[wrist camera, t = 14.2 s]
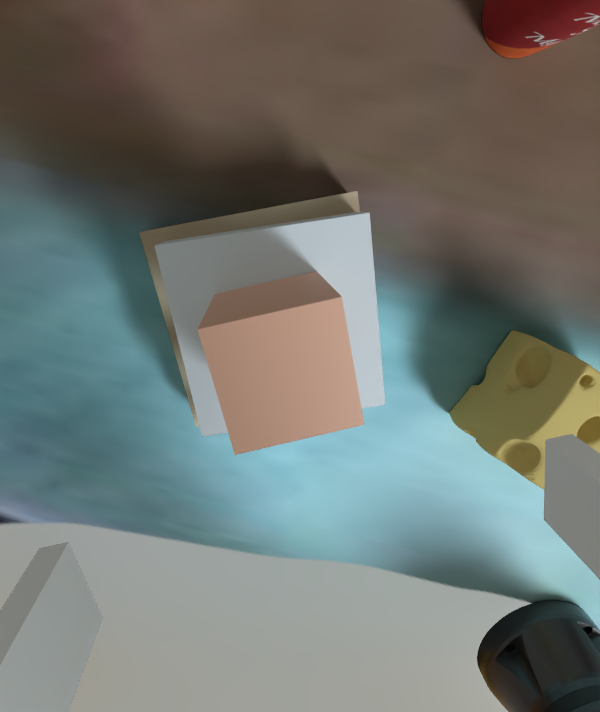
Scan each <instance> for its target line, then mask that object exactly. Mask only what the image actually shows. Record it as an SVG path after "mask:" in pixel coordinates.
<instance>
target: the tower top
mask: <svg viewBox="0 0 600 712" xmlns="http://www.w3.org/2000/svg"><path fill="white" fill-rule="evenodd" d="M155 250H156V254H157V258H158V262H159V266H160V270H161V274H162V278H163V282H164V286H165V290H166V294H167V298H168V302H169V306H170V310H171V314H172V318H173V322H174V326H175V330H176V334H177V338H178V342H179V346H180V350H181V354H182V358H183V362H184V366H185V370H186V374H187V378H188V382H189V386H190V390H191V394H192V398H193V402H194V406H195V410H196V414H197V418H198V422H199V426H200V430H201V434H202V437H204V436H209V435H215V434H221V433H226V432H228V430H227V426H226V423H225V420H224V416H223V413H222V410H221V406H220V403H219V400H218V397H217V393H216V390H215V387H214V383H213V380H212V377H211V373H210V370H209V367H208V363H207V360H206V357H205V353H204V350H203V347H202V343H201V340H200V337H199V333H198V330H197V329H198V327H199V325H200V323H201V321H202V319H203V317H204V315H205V313H206V311H207V309H208V307H209V305H210V303H211V300H212V298H213V296H214V294H217V293H221V292H226V291H230V290H235V289H239V288H244V287H248V286H252V285H257V284H261V283H266V282H270V281H275V280H279V279H284V278H288V277H292V276H297V275H301V274H306V273H310V272H315V271H317V272H318V273H319V274H320V275H321V276H322V277H323V278H324V279H325V280H326V281H327V282H328V283H329V284H330V285H331V286H332V287H333V288H334V289H335V290H336V291H337V292H338V293H339V294H340V295H341V296H342V300H343V306H344V312H345V317H346V323H347V329H348V334H349V340H350V346H351V351H352V357H353V363H354V368H355V374H356V380H357V385H358V391H359V397H360V403H361V408H368V407H374V406H379V405H385V396H384V384H383V372H382V360H381V347H380V335H379V323H378V311H377V299H376V287H375V274H374V262H373V250H372V238H371V226H370V213H365V212H353V213H346V214H340V215H333V216H327V217H320V218H313V219H307V220H300V221H294V222H287V223H281V224H274V225H268V226H261V227H255V228H248V229H242V230H235V231H228V232H222V233H215V234H209V235H202V236H196V237H189V238H183V239H176V240H170V241H165V242H162V243H160V244H157V245H155Z"/></svg>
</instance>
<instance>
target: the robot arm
mask: <svg viewBox="0 0 600 712" xmlns="http://www.w3.org/2000/svg"><path fill="white" fill-rule="evenodd" d="M544 520H545V521H546V522H547V523H548V524H549V526H550V527H551V528H552V529H553V530H554V531H555V532H556V533H557V534H558V535H559V536H560V537H561V538H562V539H563V541H564V542H565V543H566V544H567V545H568V546H569V547H570V548H571V549H572V550H573V551H574V552H575V553H576V555H577V556H578V557H579V558H580V559H581V560H582V561H583V562H584V563H585V564H586V565H587V566H588V567H589V568H590V570H591V571H592V572H593V573H594V574H595V575H596V576H597V577H598V578H599V579H600V453H598V452H597V451H596V450H594V449H593V448H591V447H590V446H588V445H587V444H586V443H584V442H583V441H581V440H580V439H579V438H577V437H576V436H574V435H573V434H569V435H564V436H560V437H555V438H550V439H546V440H545V488H544ZM102 619H103V617H102V615H101V612H100V610H99V608H98V606H97V604H96V601H95V599H94V597H93V595H92V593H91V591H90V588H89V586H88V584H87V582H86V580H85V577H84V575H83V573H82V571H81V569H80V566H79V564H78V562H77V560H76V558H75V555H74V553H73V551H72V549H71V547H70V544H69V543H63V544H58V545H53V546H49V547H44V548H40V549H39V550H38V552H37V553H36V555H35V556H34V558H33V559H32V561H31V563H30V564H29V566H28V568H27V569H26V570H25V572H24V574H23V575H22V577H21V579H20V580H19V582H18V583H17V585H16V586H15V588H14V590H13V591H12V593H11V594H10V596H9V597H8V599H7V601H6V602H5V604H4V605H3V607H2V609H1V610H0V712H68V710H69V708H70V705H71V703H72V700H73V697H74V695H75V692H76V689H77V686H78V684H79V681H80V678H81V676H82V673H83V670H84V668H85V665H86V662H87V659H88V657H89V654H90V651H91V648H92V646H93V643H94V640H95V638H96V635H97V632H98V630H99V627H100V624H101V621H102ZM477 661H478V667H479V669H480V672H481V674H482V675H483V678H484V680H485V682H486V684H487V686H488V687H489V689H490V691H491V692H492V693H493V694H494V696H495V697H496V698H497V699H498V700H499V701H500V703H501V704H502V705H503V706H504V707H505V708H506V709H507V710H508V711H509V712H600V630H599V629H598V627H597V626H596V625H595V623H594V622H593V621H592V620H591V619H590V617H589V616H588V615H587V614H586V613H585V612H584V611H583V610H582V609H581V608H579V607H578V606H576V605H574V604H571V603H568V602H563V601H543V602H537V603H533V604H529V605H527V606H524V607H521V608H519V609H517V610H515V611H513V612H511V613H509V614H508V615H506V616H505V617H503V618H502V619H501V620H499V621H498V622H497V623H496V624H495V625H494V626H493V627H492V628H491V629H490V630H489V631H488V632H487V634H486V635H485V637H484V638H483V640H482V642H481V644H480V647H479V650H478V656H477Z"/></svg>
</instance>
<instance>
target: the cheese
mask: <svg viewBox="0 0 600 712" xmlns="http://www.w3.org/2000/svg"><path fill="white" fill-rule="evenodd" d="M450 416H451V418H452V420H453V422H454V423H455V424H456V425H457V426H458V427H459V428H460V429H462V430H463V431H465V432H466V433H468V434H470V435H471V436H473V437H474V438H476V442H477V443H478V444H479V445H480V446H481V447H482V448H483V449H484V450H485V451H486V452H488V453H489V454H491V455H492V456H494V457H496V458H497V459H499V460H501V461H502V462H504V463H506V464H507V465H508V466H510V467H511V468H512V469H514V470H515V471H517V472H518V473H520V474H521V475H522V476H524V477H525V478H527V479H528V480H529V481H531V482H533V483H534V484H536V485H537V486H539V487H541V488H543V489H544V488H545V440H546V439H550V438H555V437H560V436H564V435H569V434H573V435H574V436H576V437H577V438H579V439H580V440H581V441H583V442H584V443H586V444H587V445H588V446H590V447H591V448H593V449H594V450H596V451H597V452H598V453H600V372H598V371H597V370H596V369H594V368H593V367H591V366H590V365H589V364H587V363H585V362H584V361H582V360H580V359H578V358H577V357H575V356H573V355H571V354H569V353H566V352H564V351H562V350H559V349H557V348H555V347H553V346H551V345H549V344H547V343H545V342H543V341H541V340H539V339H537V338H535V337H532V336H530V335H527V334H524V333H521V332H518V331H515V330H512V331H511V332H510V333H509V334H508V336H507V337H506V339H505V340H504V342H503V343H502V344H501V346H500V347H499V349H498V350H497V352H496V353H495V354H494V356H493V357H492V359H491V360H490V362H489V363H488V365H487V369H486V376H485V378H484V380H483V382H482V383H481V384H479V385H472V386H471V387H470V388H469V389H468V391H467V392H466V393H465V394H464V395H463V397H462V398H461V399H460V401H459V402H458V403H457V404H456V405H455V406H454V407H453V409H452V410H451V411H450Z"/></svg>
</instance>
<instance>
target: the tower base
mask: <svg viewBox="0 0 600 712" xmlns="http://www.w3.org/2000/svg"><path fill="white" fill-rule="evenodd" d="M353 212H360V209H359V200H358V192H357V191H355V192H348V193H343V194H338V195H332V196H327V197H322V198H316V199H311V200H306V201H300V202H295V203H290V204H285V205H279V206H274V207H269V208H263V209H258V210H253V211H247V212H242V213H237V214H231V215H226V216H221V217H215V218H210V219H205V220H199V221H194V222H189V223H183V224H178V225H173V226H168V227H162V228H157V229H152V230H147V231H142V232H139V234H140V237H141V241H142V244H143V247H144V251H145V254H146V258H147V261H148V265H149V268H150V271H151V275H152V278H153V282H154V285H155V288H156V292H157V295H158V299H159V302H160V305H161V309H162V312H163V316H164V319H165V322H166V326H167V329H168V333H169V336H170V339H171V343H172V346H173V350H174V353H175V356H176V360H177V363H178V367H179V370H180V373H181V377H182V380H183V384H184V387H185V390H186V394H187V397H188V401H189V404H190V407H191V411H192V414H193V418H194V421H195V424H196V427H198V426H199V422H198V418H197V414H196V410H195V406H194V402H193V398H192V394H191V390H190V386H189V382H188V378H187V374H186V370H185V366H184V362H183V358H182V354H181V350H180V346H179V342H178V338H177V334H176V330H175V326H174V322H173V318H172V314H171V310H170V306H169V302H168V298H167V294H166V290H165V286H164V282H163V278H162V274H161V270H160V266H159V262H158V258H157V254H156V250H155V245H157V244H160V243H162V242H165V241H170V240H176V239H183V238H189V237H196V236H202V235H209V234H215V233H222V232H228V231H235V230H242V229H248V228H255V227H261V226H268V225H274V224H281V223H287V222H294V221H300V220H307V219H313V218H320V217H327V216H333V215H340V214H346V213H353Z"/></svg>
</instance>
